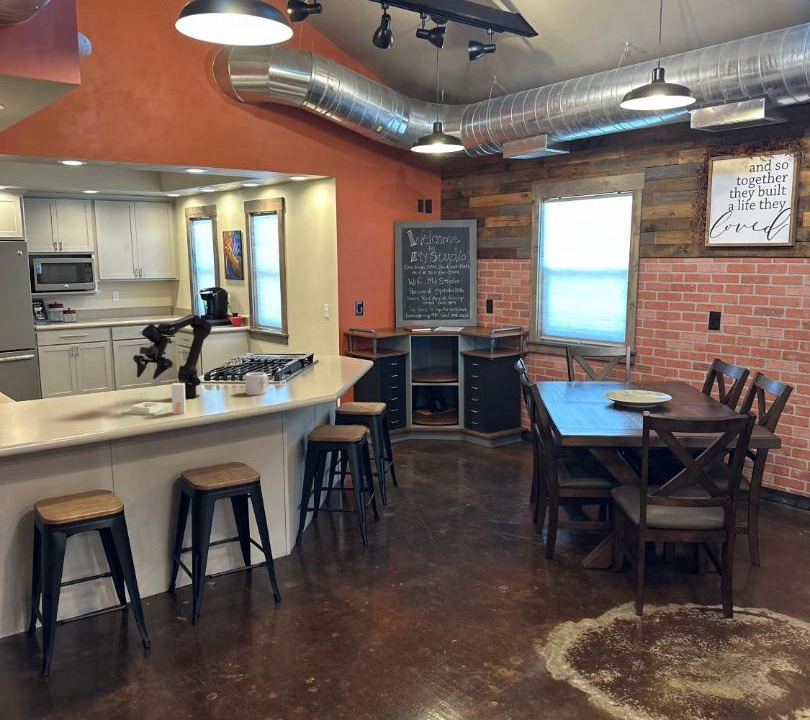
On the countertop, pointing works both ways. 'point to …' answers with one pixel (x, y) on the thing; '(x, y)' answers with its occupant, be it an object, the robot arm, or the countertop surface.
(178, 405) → the plug
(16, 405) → the countertop surface
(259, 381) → the mug
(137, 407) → the white square frame
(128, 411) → the board
